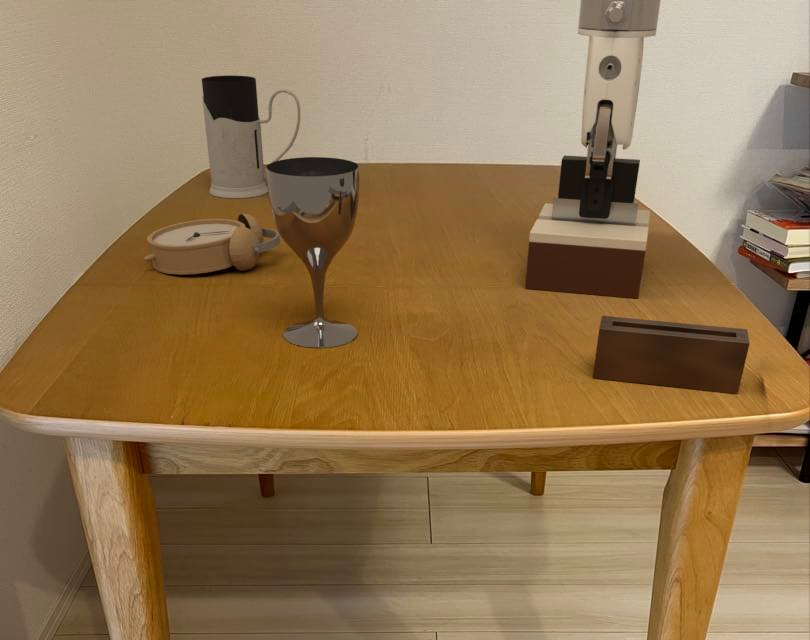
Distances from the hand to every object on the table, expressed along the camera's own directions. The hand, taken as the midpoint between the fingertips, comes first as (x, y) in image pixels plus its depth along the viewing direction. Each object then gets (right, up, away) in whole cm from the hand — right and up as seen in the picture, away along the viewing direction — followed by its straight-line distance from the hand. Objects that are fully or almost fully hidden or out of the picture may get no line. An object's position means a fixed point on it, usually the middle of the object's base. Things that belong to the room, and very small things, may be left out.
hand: (595, 212), depth 95 cm
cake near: (-1, -8, +1) cm, 8 cm away
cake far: (+1, -4, +7) cm, 8 cm away
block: (+2, -22, -19) cm, 29 cm away
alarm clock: (-43, -3, +7) cm, 43 cm away
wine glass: (-29, -16, -11) cm, 35 cm away
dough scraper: (0, -5, +3) cm, 6 cm away
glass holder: (-43, +16, +36) cm, 58 cm away
